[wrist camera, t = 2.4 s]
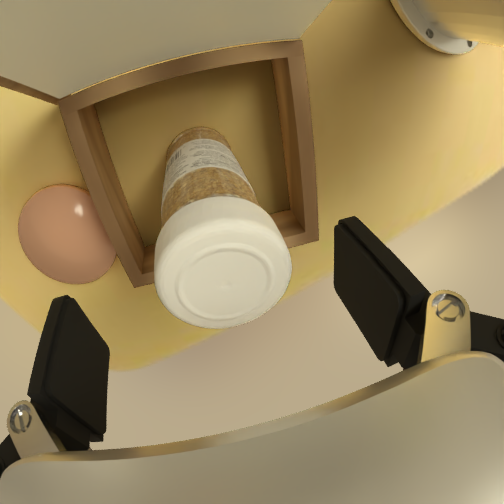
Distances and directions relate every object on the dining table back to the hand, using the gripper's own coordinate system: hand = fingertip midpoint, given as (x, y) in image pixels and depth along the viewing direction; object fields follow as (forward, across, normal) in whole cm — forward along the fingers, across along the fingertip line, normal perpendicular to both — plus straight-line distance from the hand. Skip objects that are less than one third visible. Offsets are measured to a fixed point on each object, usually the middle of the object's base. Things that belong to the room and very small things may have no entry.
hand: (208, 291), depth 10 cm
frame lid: (+3, -1, -10) cm, 10 cm away
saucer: (+13, +11, +2) cm, 17 cm away
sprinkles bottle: (+13, -1, -1) cm, 13 cm away
